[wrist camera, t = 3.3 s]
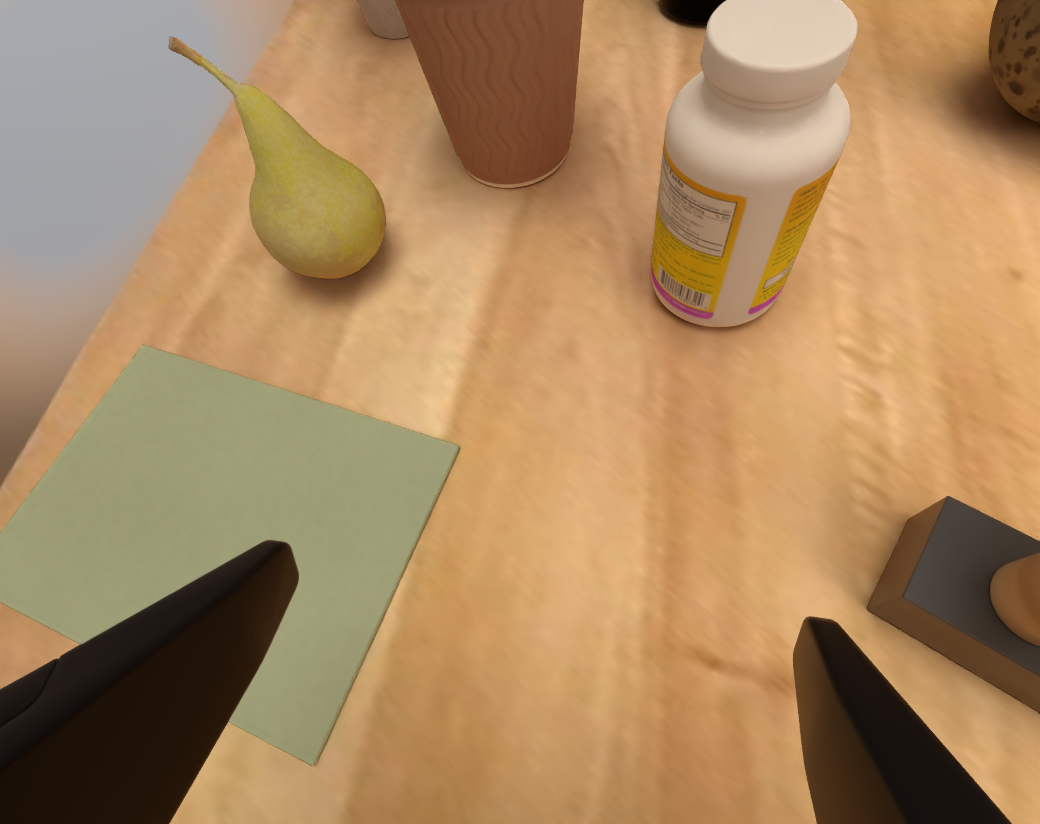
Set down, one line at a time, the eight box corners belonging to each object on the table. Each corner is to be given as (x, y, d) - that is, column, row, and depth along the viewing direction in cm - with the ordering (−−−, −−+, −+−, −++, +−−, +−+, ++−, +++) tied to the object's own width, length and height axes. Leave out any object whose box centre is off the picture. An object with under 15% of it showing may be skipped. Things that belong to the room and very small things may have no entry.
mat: (460, 447, 27) (459, 445, 27) (315, 765, 22) (312, 766, 22) (146, 347, 33) (142, 344, 32) (-33, 583, 27) (-39, 582, 27)
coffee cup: (520, 78, 40) (492, -150, 29) (631, 142, 35) (645, -98, 25) (404, 158, 37) (327, -58, 27) (508, 237, 33) (466, 17, 22)
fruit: (354, 321, 32) (230, 129, 21) (258, 277, 34) (104, 84, 23) (421, 238, 34) (341, 26, 23) (327, 202, 36) (215, -5, 26)
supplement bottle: (769, 230, 31) (869, -44, 20) (790, 330, 28) (922, 77, 17) (644, 236, 32) (670, -22, 20) (651, 335, 29) (686, 97, 17)
